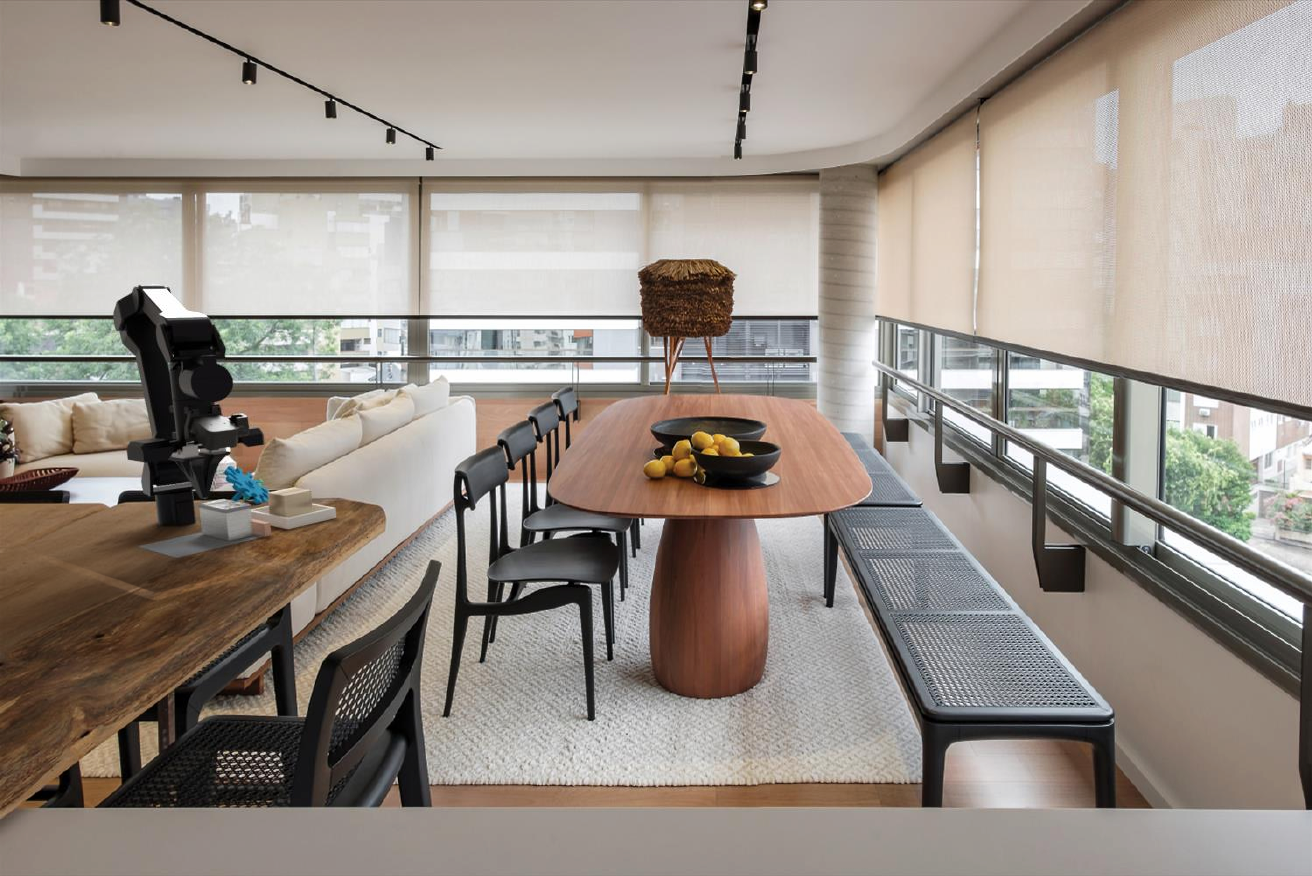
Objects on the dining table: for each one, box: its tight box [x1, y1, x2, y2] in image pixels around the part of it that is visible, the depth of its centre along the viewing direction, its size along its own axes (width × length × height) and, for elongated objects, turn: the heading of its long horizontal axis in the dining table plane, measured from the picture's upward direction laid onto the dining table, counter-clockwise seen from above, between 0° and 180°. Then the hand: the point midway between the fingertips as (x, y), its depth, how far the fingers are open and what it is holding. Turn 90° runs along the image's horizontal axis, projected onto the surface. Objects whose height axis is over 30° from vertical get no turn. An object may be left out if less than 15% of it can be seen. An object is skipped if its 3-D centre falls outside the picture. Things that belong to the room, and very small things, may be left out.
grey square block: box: [198, 498, 253, 541], centre depth 142 cm, size 8×4×5 cm, turn 55°
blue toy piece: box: [222, 465, 270, 505], centre depth 168 cm, size 11×6×10 cm
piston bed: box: [137, 519, 272, 559], centre depth 139 cm, size 12×15×3 cm
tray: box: [251, 503, 337, 530], centre depth 152 cm, size 12×9×2 cm
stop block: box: [267, 486, 313, 518], centre depth 152 cm, size 5×5×5 cm
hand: (204, 498), depth 138 cm, fingers closed
